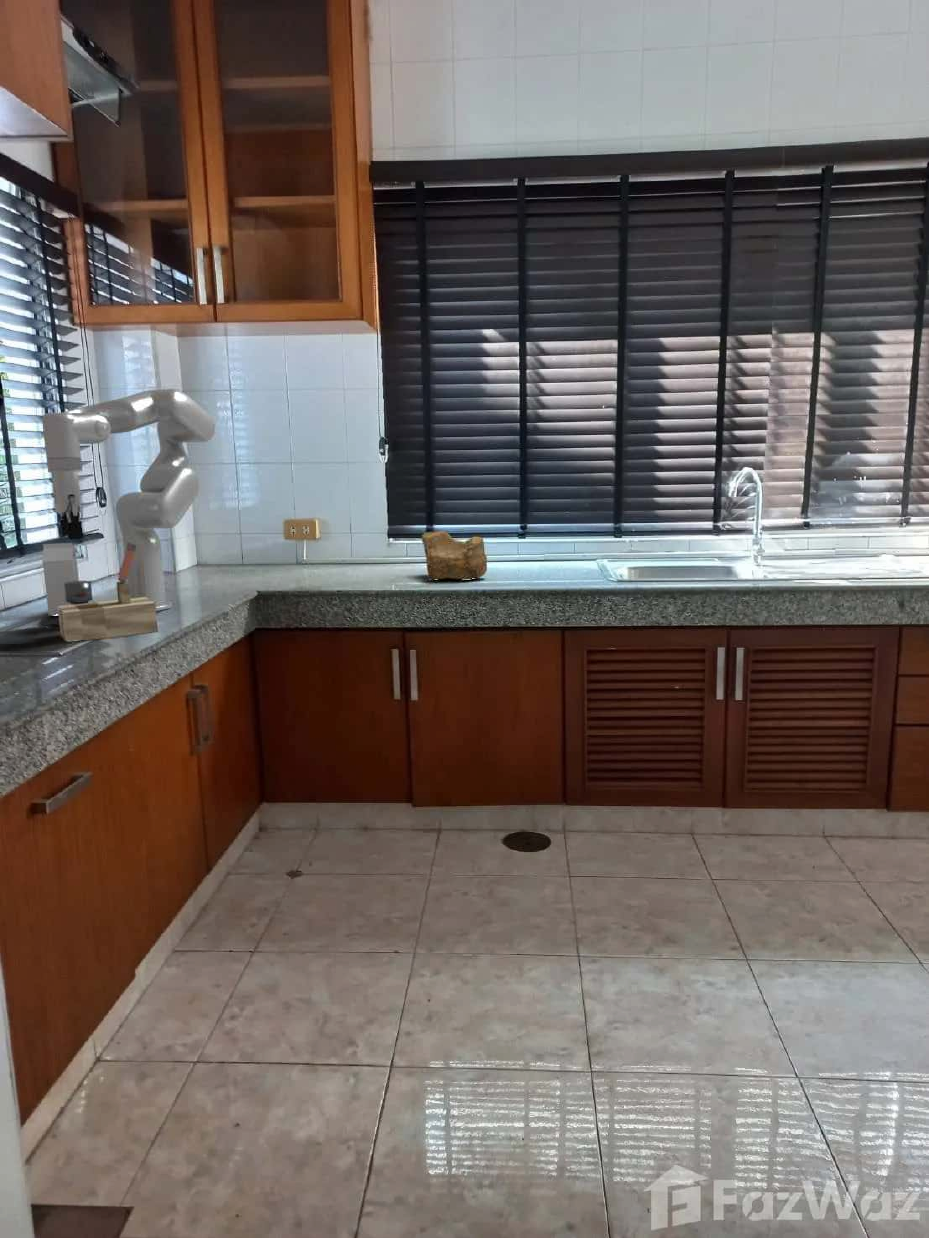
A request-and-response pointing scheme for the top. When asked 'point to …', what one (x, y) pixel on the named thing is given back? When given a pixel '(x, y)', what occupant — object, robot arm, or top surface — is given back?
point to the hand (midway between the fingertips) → (72, 537)
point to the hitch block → (108, 617)
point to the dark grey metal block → (78, 592)
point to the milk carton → (58, 573)
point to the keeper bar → (127, 562)
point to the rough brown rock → (454, 556)
